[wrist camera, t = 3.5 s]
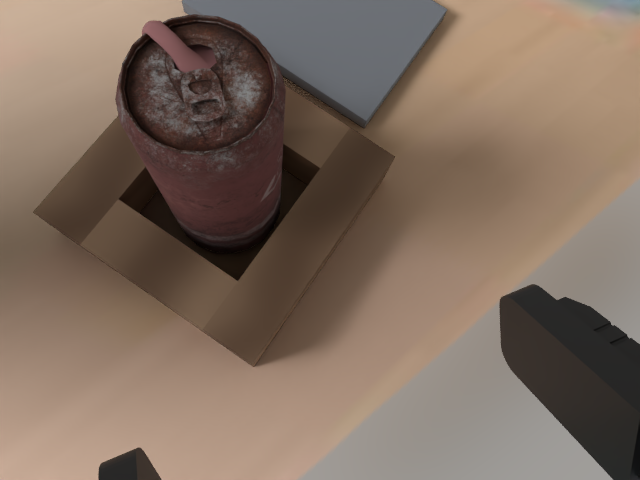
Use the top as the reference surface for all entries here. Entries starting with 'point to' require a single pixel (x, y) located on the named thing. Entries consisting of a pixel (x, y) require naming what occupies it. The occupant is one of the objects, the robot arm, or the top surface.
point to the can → (207, 126)
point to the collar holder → (192, 269)
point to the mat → (336, 43)
